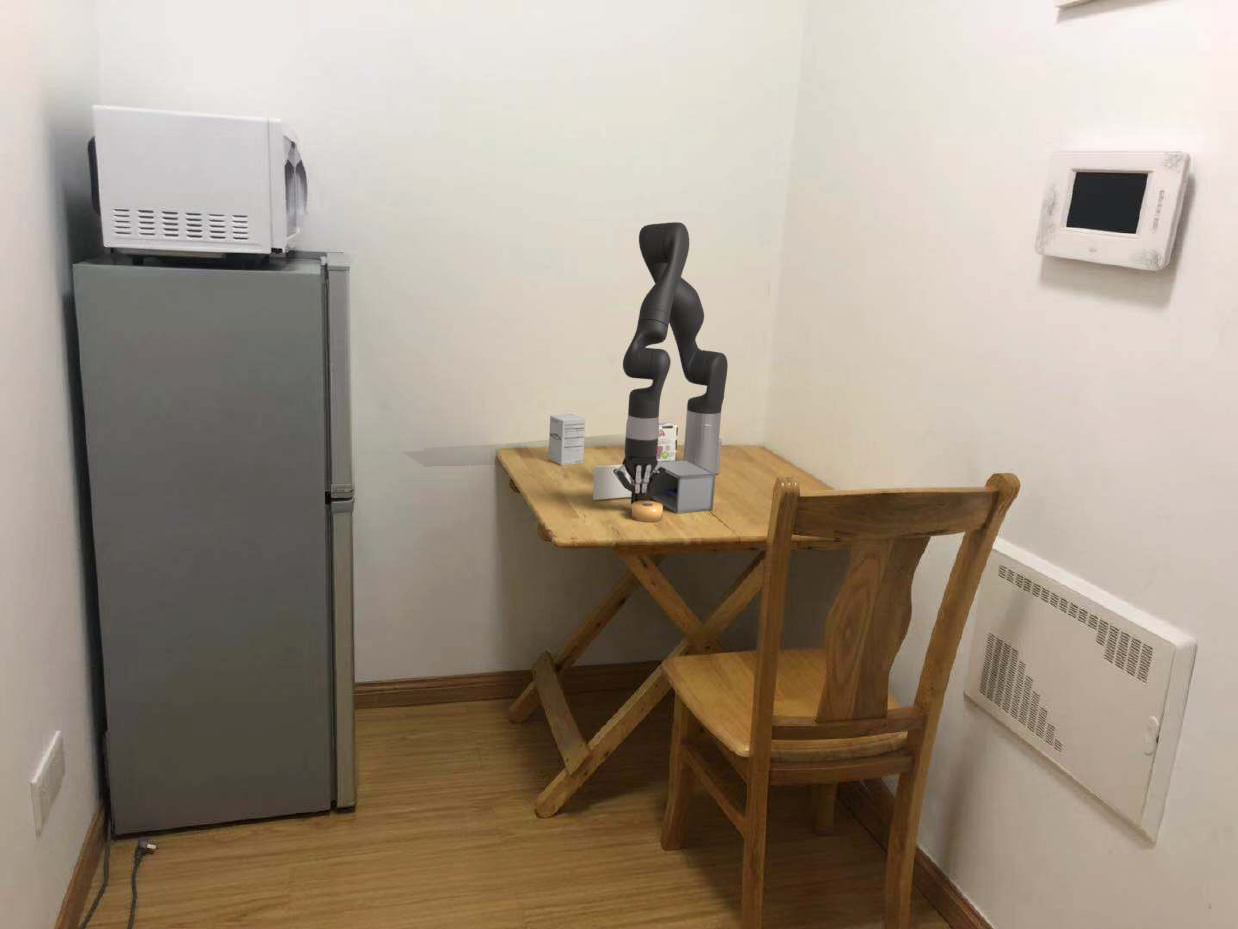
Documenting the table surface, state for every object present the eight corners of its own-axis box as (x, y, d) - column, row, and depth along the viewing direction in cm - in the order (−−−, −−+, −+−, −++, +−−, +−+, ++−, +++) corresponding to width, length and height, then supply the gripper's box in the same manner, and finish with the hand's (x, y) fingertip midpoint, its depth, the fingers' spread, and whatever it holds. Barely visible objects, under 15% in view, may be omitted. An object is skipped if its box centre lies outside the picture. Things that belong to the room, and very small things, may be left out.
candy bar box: (665, 483, 258) (669, 421, 254) (675, 488, 254) (679, 425, 250) (627, 486, 253) (631, 423, 249) (636, 491, 249) (640, 427, 245)
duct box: (683, 494, 249) (686, 459, 247) (712, 510, 237) (715, 473, 234) (650, 497, 245) (652, 461, 242) (677, 513, 233) (680, 476, 230)
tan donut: (653, 511, 233) (654, 499, 232) (667, 520, 227) (668, 507, 226) (626, 514, 230) (627, 501, 229) (640, 523, 224) (641, 510, 223)
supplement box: (547, 459, 276) (549, 414, 273) (570, 457, 280) (572, 413, 277) (560, 465, 270) (562, 420, 267) (584, 463, 274) (586, 418, 271)
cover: (646, 496, 246) (648, 462, 244) (649, 497, 244) (651, 464, 242) (592, 500, 239) (594, 466, 237) (594, 502, 238) (596, 467, 236)
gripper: (660, 430, 234) (655, 500, 238) (609, 432, 228) (604, 504, 232) (675, 437, 227) (669, 509, 231) (623, 439, 221) (618, 514, 226)
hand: (637, 507), depth 232 cm, fingers closed
